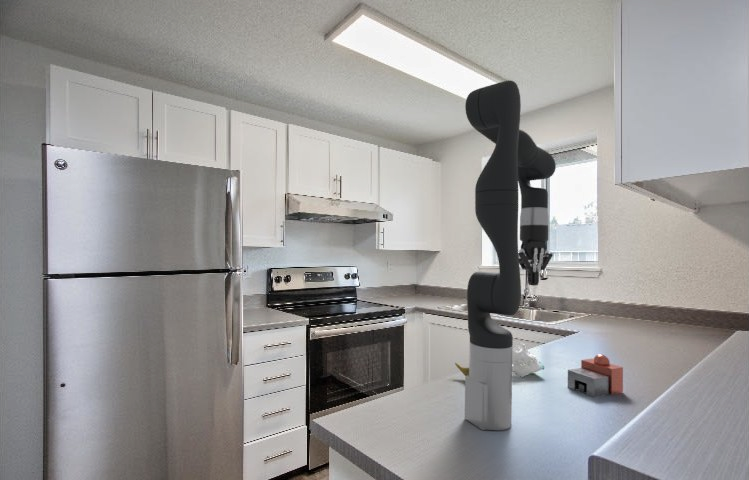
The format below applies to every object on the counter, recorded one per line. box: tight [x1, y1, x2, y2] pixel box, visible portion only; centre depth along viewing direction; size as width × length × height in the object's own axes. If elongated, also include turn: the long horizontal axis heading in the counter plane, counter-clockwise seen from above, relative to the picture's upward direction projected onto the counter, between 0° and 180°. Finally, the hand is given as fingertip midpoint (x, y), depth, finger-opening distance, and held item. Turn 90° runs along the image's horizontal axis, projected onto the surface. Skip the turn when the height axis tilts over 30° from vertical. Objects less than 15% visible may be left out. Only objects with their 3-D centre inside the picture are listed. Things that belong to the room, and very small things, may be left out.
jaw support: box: [512, 342, 545, 378], centre depth 117 cm, size 12×9×10 cm
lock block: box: [567, 367, 610, 399], centre depth 103 cm, size 6×8×5 cm
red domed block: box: [578, 354, 624, 396], centre depth 104 cm, size 11×9×10 cm
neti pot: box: [454, 362, 469, 377], centre depth 107 cm, size 4×15×6 cm, turn 44°
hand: (533, 285), depth 105 cm, fingers closed
